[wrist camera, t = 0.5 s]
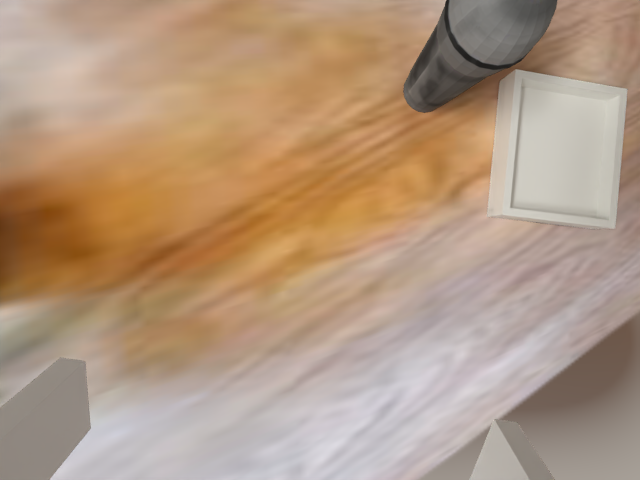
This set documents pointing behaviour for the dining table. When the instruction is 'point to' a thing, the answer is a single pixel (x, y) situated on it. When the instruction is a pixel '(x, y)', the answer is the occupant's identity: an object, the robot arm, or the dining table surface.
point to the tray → (557, 151)
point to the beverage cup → (474, 46)
